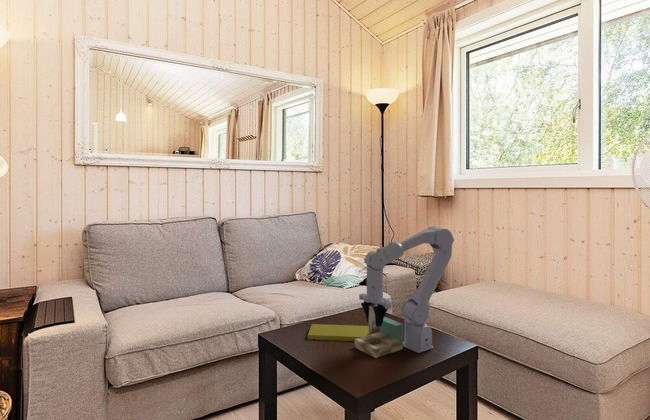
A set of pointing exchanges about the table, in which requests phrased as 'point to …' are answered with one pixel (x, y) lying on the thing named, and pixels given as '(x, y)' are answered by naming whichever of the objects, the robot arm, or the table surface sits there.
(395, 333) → the teal block
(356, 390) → the table surface
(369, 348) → the socket block
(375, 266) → the robot arm
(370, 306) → the peg
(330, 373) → the table surface
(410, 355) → the table surface
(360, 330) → the flat olive board
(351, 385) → the table surface
